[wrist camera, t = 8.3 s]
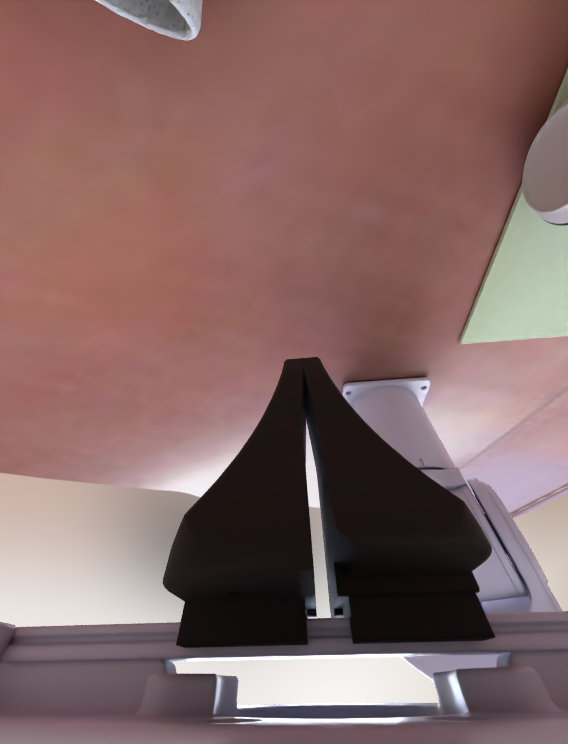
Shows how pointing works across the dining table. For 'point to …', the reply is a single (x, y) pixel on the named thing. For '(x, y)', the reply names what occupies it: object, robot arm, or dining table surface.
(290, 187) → the dining table surface
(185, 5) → the white cylinder
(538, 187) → the beverage can
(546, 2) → the dining table surface
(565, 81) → the mat
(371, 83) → the dining table surface
